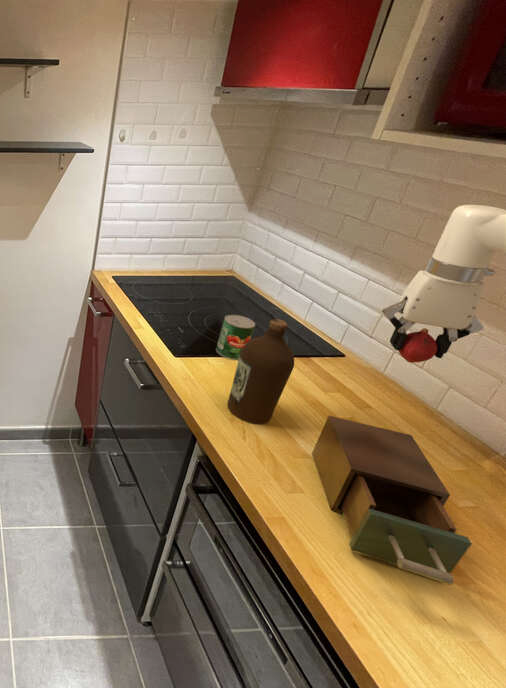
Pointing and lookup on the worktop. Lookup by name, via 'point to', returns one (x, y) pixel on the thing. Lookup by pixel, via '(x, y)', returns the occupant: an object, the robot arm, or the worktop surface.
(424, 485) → the cabinet
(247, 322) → the canned tomato
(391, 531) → the drawer
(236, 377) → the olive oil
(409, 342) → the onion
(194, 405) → the worktop surface
